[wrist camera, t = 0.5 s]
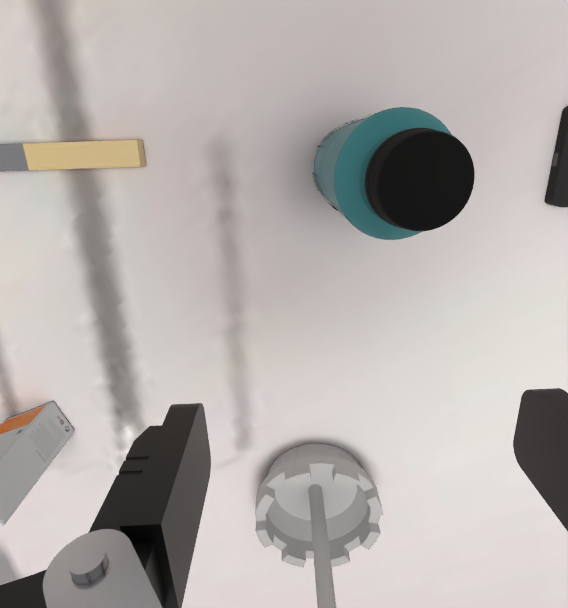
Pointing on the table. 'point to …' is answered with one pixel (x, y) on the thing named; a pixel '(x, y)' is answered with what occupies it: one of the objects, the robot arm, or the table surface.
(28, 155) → the rail bay
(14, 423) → the skincare box
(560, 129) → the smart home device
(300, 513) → the flag stand
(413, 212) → the beverage bottle
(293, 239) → the table surface
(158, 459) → the robot arm
